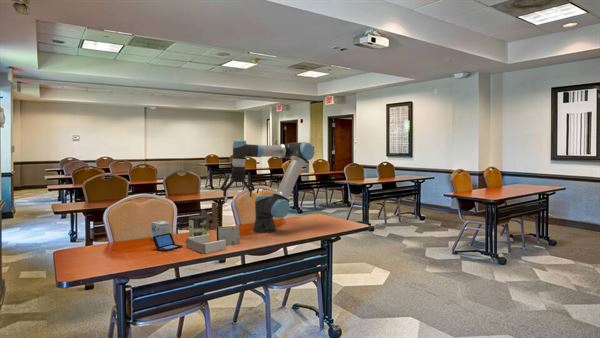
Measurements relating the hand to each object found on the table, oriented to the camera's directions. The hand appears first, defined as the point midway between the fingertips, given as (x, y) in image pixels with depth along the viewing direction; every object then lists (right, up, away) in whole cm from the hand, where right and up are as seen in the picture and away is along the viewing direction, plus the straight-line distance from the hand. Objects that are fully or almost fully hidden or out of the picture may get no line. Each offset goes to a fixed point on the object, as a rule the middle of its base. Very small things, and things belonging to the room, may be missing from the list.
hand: (237, 202), depth 228 cm
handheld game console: (-36, -25, -14) cm, 46 cm away
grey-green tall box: (-24, -23, +5) cm, 34 cm away
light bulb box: (-47, -23, +7) cm, 53 cm away
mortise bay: (-15, -24, -15) cm, 32 cm away
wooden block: (-24, -22, +35) cm, 48 cm away
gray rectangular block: (-4, -24, -5) cm, 24 cm away
